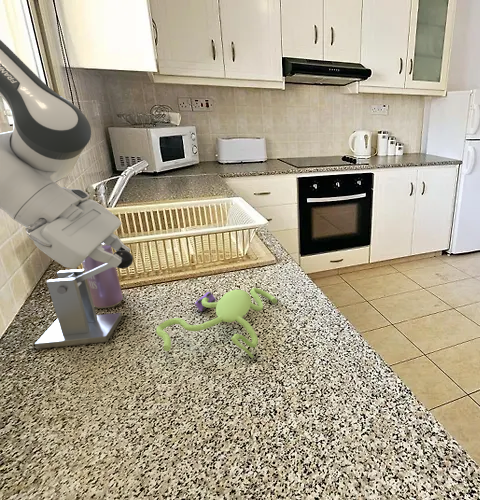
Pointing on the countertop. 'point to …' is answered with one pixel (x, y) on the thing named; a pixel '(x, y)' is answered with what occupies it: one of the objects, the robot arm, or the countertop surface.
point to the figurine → (223, 315)
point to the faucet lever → (105, 267)
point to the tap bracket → (75, 314)
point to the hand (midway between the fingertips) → (124, 258)
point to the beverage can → (103, 283)
